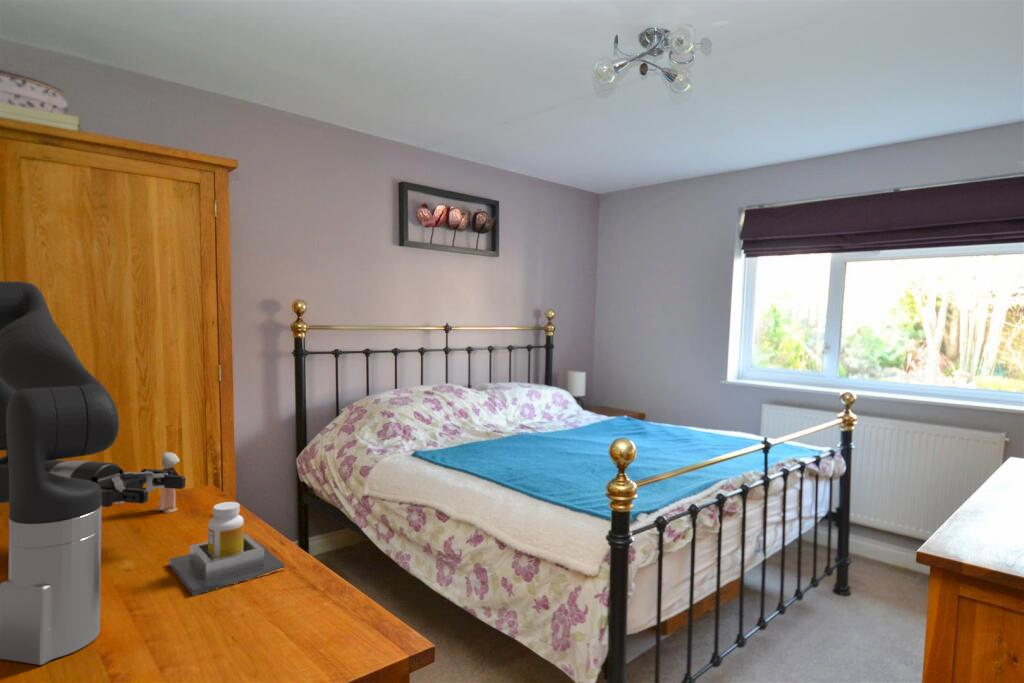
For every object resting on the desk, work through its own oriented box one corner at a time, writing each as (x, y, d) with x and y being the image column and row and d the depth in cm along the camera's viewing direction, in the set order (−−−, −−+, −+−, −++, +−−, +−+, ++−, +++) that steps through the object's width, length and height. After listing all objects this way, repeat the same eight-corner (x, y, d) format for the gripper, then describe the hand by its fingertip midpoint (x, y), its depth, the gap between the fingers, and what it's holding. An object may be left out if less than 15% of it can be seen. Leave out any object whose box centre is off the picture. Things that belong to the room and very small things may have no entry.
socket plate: (284, 570, 95) (284, 550, 95) (192, 596, 85) (193, 573, 85) (254, 544, 105) (254, 525, 105) (169, 564, 95) (169, 544, 95)
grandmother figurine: (146, 511, 119) (147, 452, 119) (162, 505, 123) (163, 448, 123) (174, 516, 117) (175, 456, 117) (189, 510, 121) (191, 452, 120)
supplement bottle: (249, 555, 97) (250, 501, 97) (231, 569, 92) (232, 512, 92) (219, 553, 98) (220, 499, 97) (200, 567, 92) (201, 510, 92)
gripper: (46, 472, 93) (132, 478, 90) (119, 453, 107) (195, 458, 104) (46, 516, 93) (132, 524, 90) (118, 491, 107) (195, 498, 104)
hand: (166, 489), depth 97 cm, fingers open, 8 cm apart
